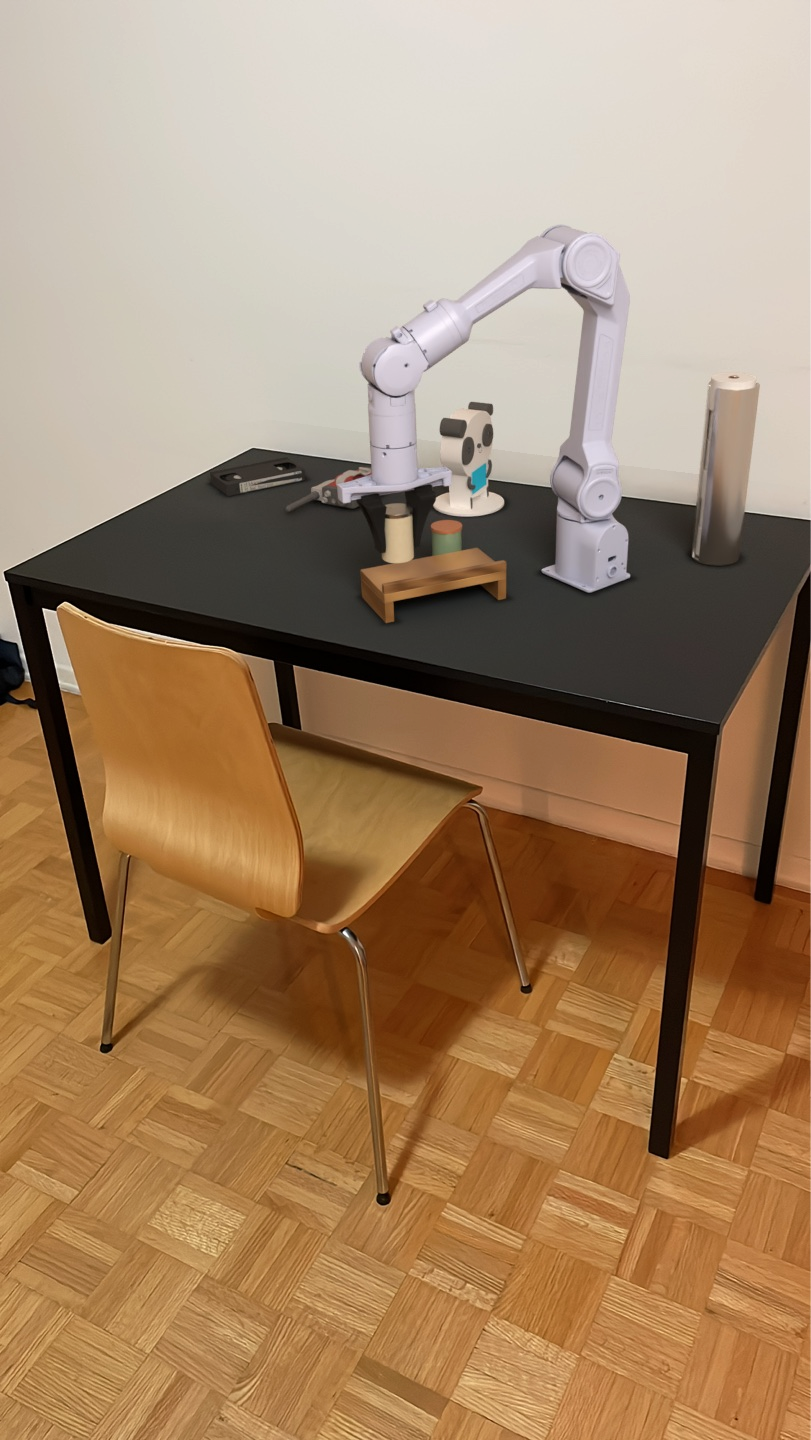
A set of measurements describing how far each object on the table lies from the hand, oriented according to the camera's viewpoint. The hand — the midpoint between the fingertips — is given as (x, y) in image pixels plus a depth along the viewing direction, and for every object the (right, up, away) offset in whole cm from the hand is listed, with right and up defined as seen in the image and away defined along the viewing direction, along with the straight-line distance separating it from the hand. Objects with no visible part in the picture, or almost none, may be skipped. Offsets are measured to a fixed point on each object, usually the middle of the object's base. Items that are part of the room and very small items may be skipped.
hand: (397, 547), depth 145 cm
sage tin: (+7, -1, +14) cm, 15 cm away
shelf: (+5, -6, +5) cm, 9 cm away
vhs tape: (-24, +18, +49) cm, 58 cm away
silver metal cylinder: (+44, 0, +14) cm, 46 cm away
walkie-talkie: (-9, +13, +39) cm, 43 cm away
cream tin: (0, -1, +1) cm, 1 cm away
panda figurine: (+11, +12, +36) cm, 40 cm away
